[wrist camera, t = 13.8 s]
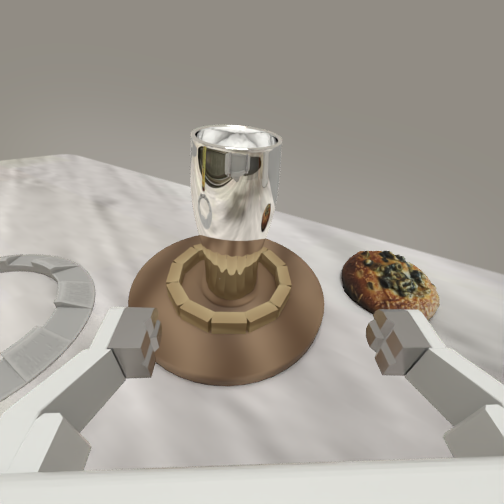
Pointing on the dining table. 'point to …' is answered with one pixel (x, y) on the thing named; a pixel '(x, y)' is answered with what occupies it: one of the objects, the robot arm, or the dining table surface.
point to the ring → (56, 328)
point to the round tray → (229, 316)
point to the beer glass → (233, 205)
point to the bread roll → (388, 283)
